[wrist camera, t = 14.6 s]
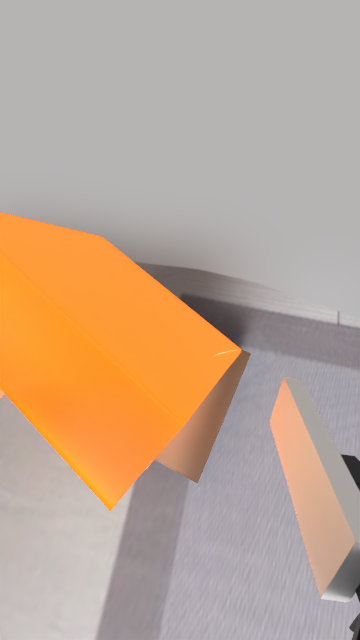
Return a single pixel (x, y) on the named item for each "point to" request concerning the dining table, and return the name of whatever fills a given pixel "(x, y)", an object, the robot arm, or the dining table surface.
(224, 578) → the dining table surface
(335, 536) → the robot arm
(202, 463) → the base brick
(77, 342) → the orange juice
